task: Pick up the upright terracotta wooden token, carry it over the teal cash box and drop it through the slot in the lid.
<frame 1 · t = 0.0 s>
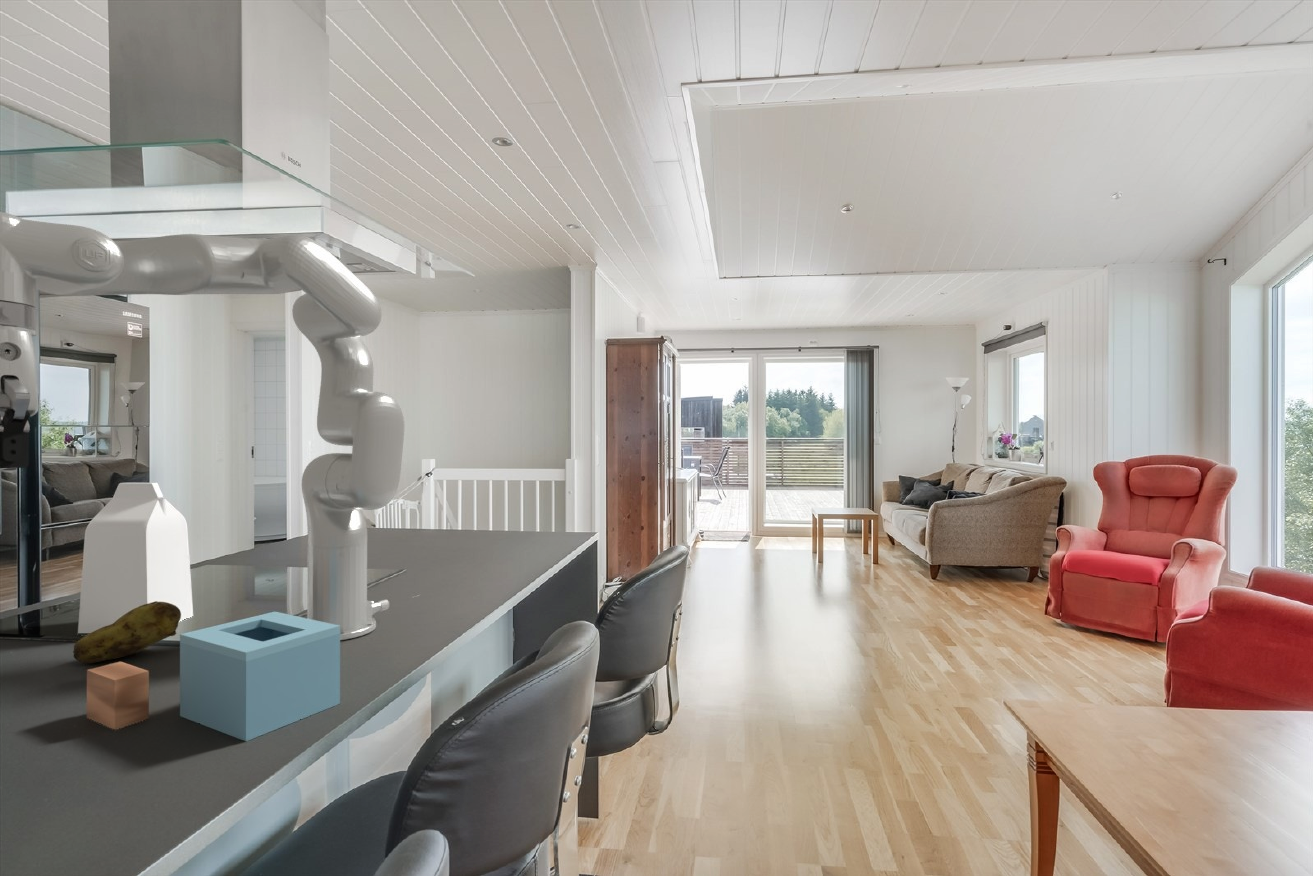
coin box: (261, 709, 84), on the worktop
potato: (130, 657, 103), on the worktop
milk: (138, 626, 120), on the worktop
token: (117, 719, 81), on the worktop
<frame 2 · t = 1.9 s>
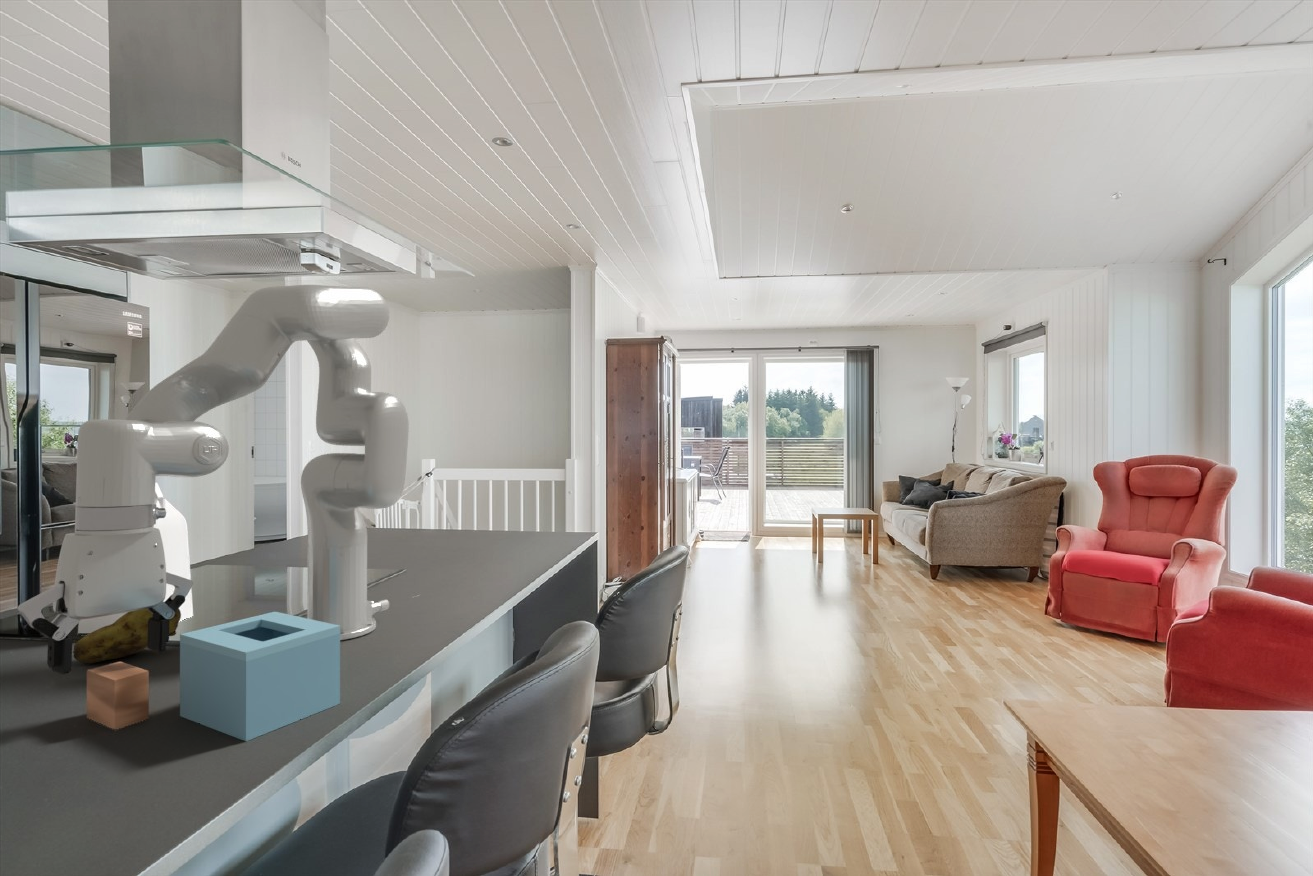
hand: (111, 660, 80), 7 cm above the worktop, tool pointing down, fingers open, 9 cm apart
nothing on the worktop moved.
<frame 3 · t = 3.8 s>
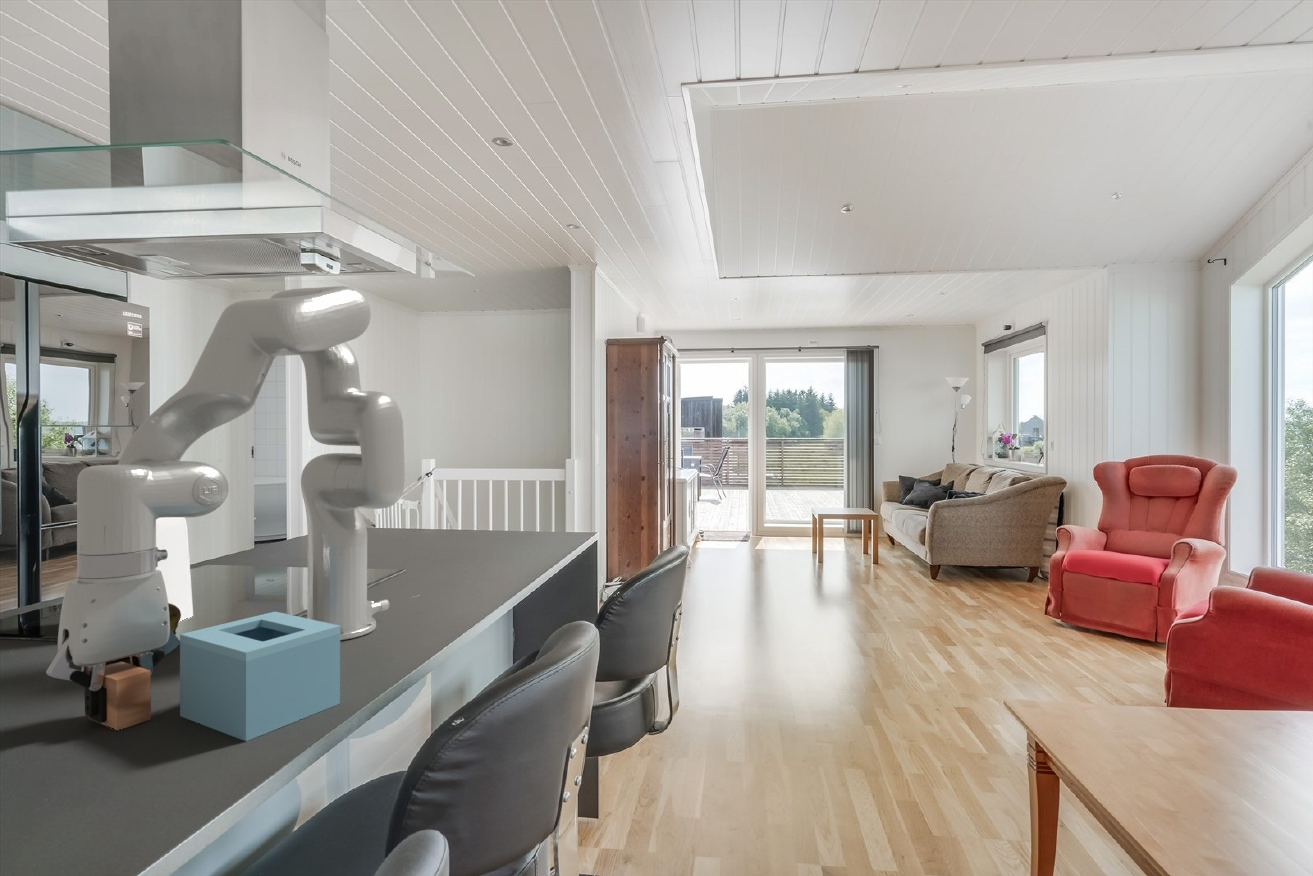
hand: (117, 712, 81), 1 cm above the worktop, tool pointing down, fingers closed on token, 3 cm apart
token: (119, 719, 81), on the worktop, touching gripper
everything else where it was.
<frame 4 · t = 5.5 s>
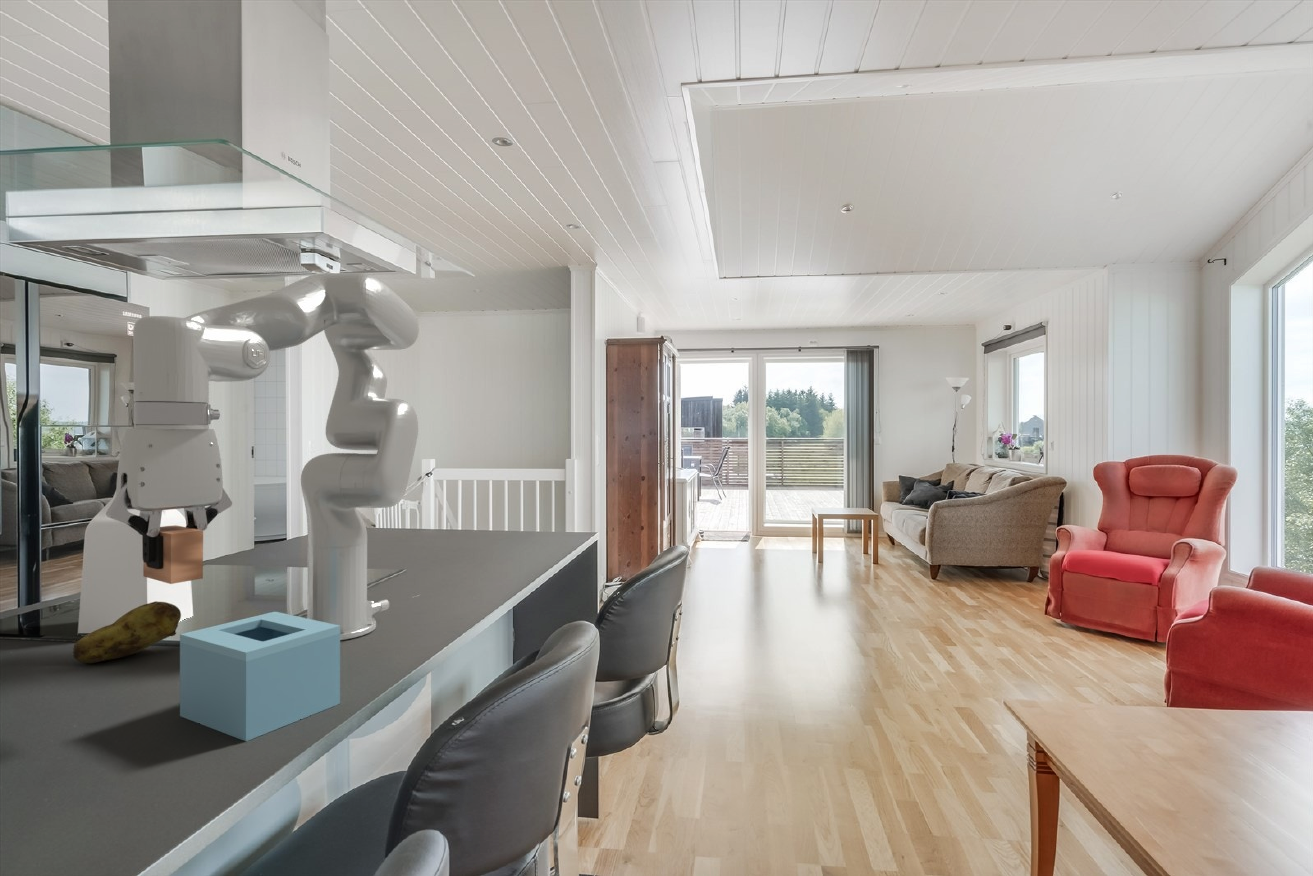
hand: (173, 563, 82), 19 cm above the worktop, tool pointing down, fingers closed on token, 3 cm apart
token: (173, 577, 82), point 17 cm above the worktop, touching gripper
everything else where it was.
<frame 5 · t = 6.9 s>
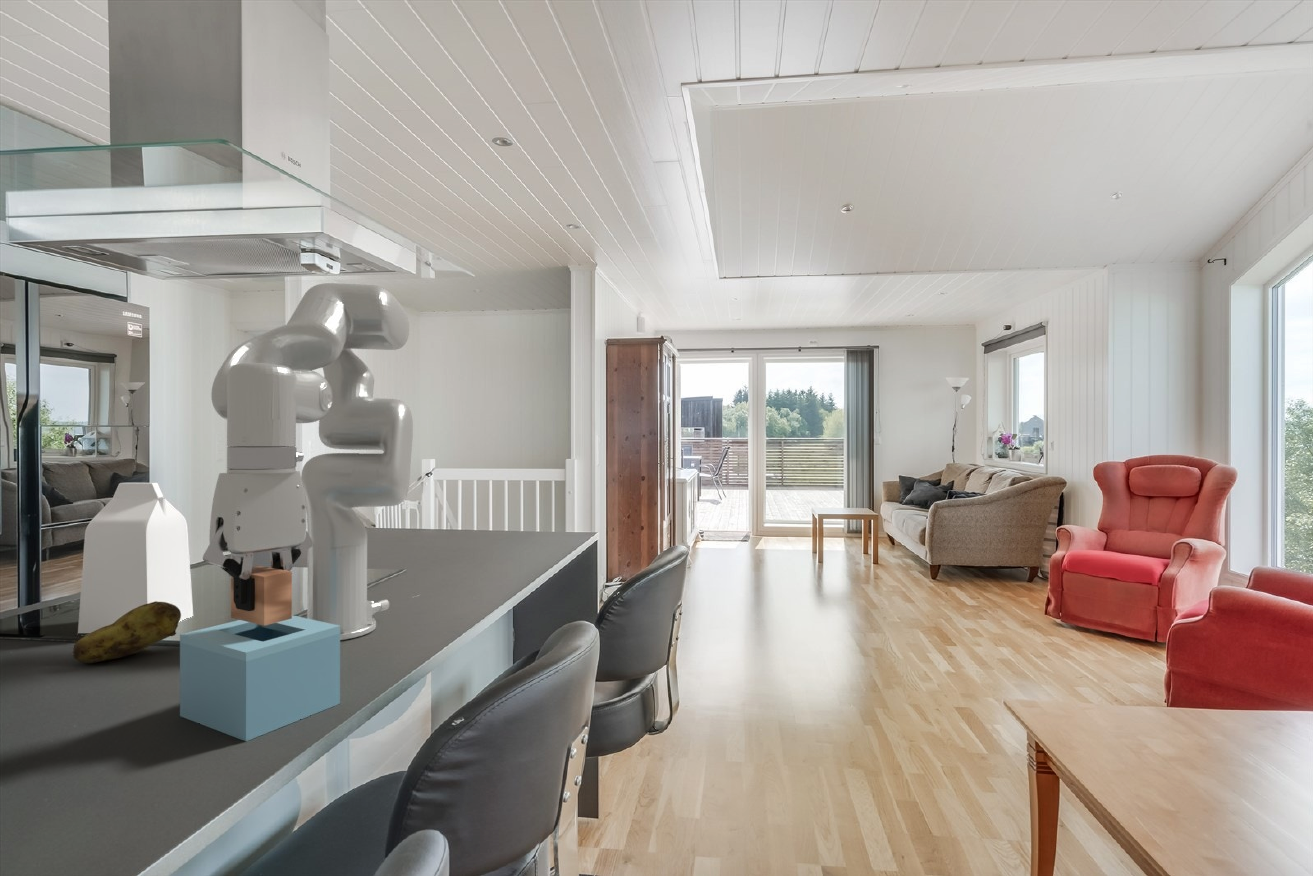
hand: (261, 604, 83), 14 cm above the worktop, tool pointing down, fingers closed on token, 3 cm apart
token: (261, 618, 83), point 12 cm above the worktop, touching gripper
everything else where it was.
when the fingers open (12 cm above the worktop, at t = 7.8 s): token drops 10 cm, resting on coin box.
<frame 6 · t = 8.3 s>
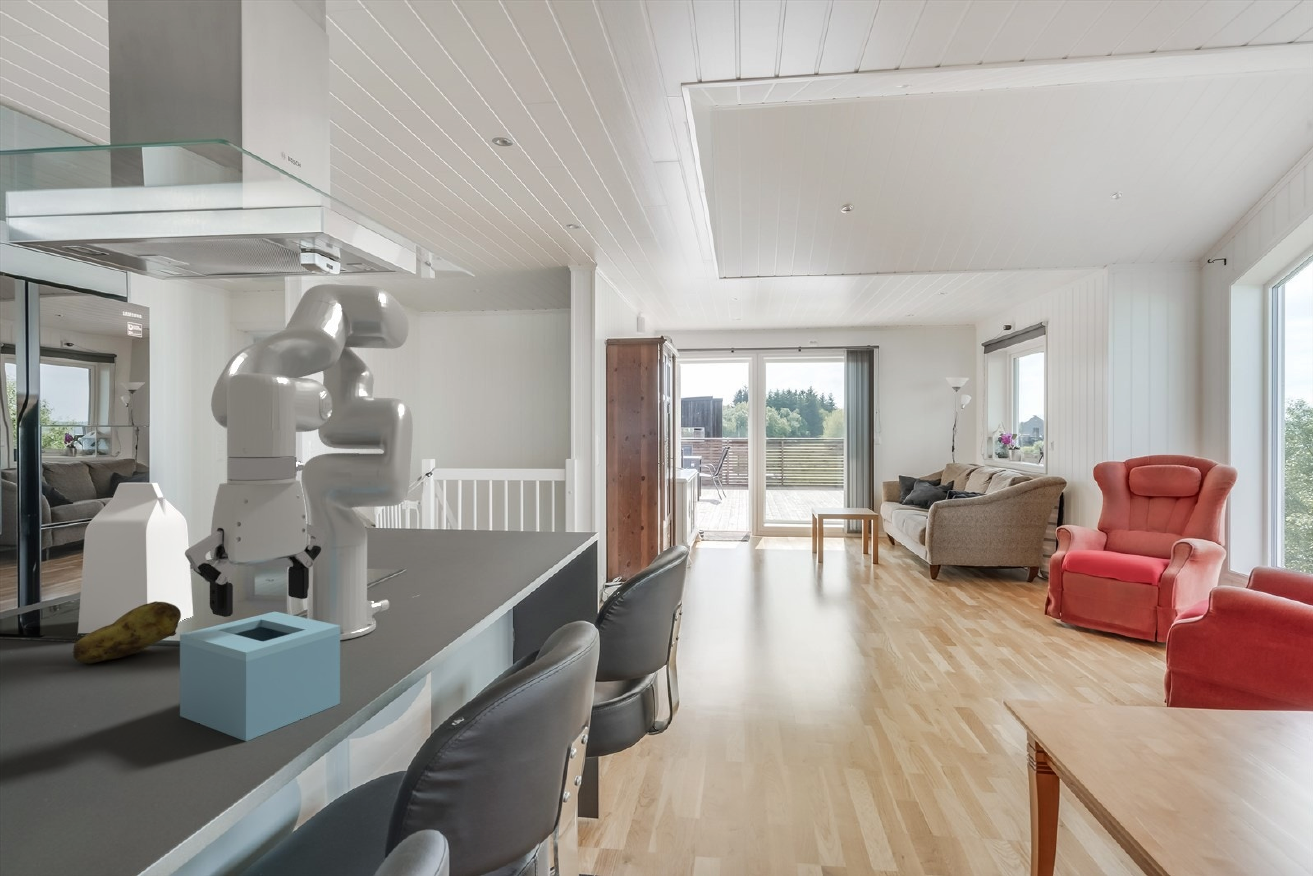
hand: (262, 605, 84), 13 cm above the worktop, tool pointing down, fingers open, 9 cm apart
token: (255, 703, 84), point 1 cm above the worktop, touching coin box
everything else where it was.
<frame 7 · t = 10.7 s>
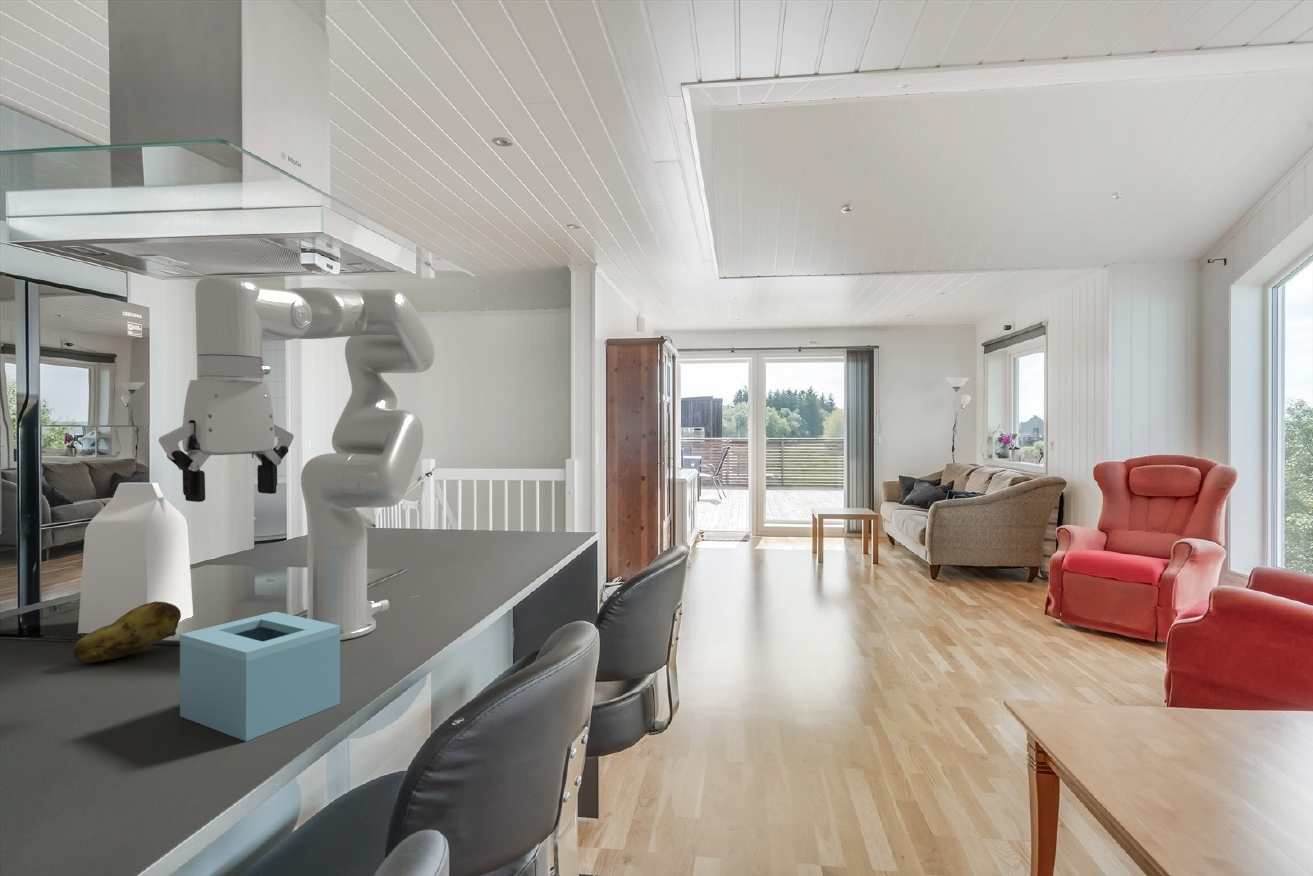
hand: (232, 496, 90), 27 cm above the worktop, tool pointing down, fingers open, 9 cm apart
nothing on the worktop moved.
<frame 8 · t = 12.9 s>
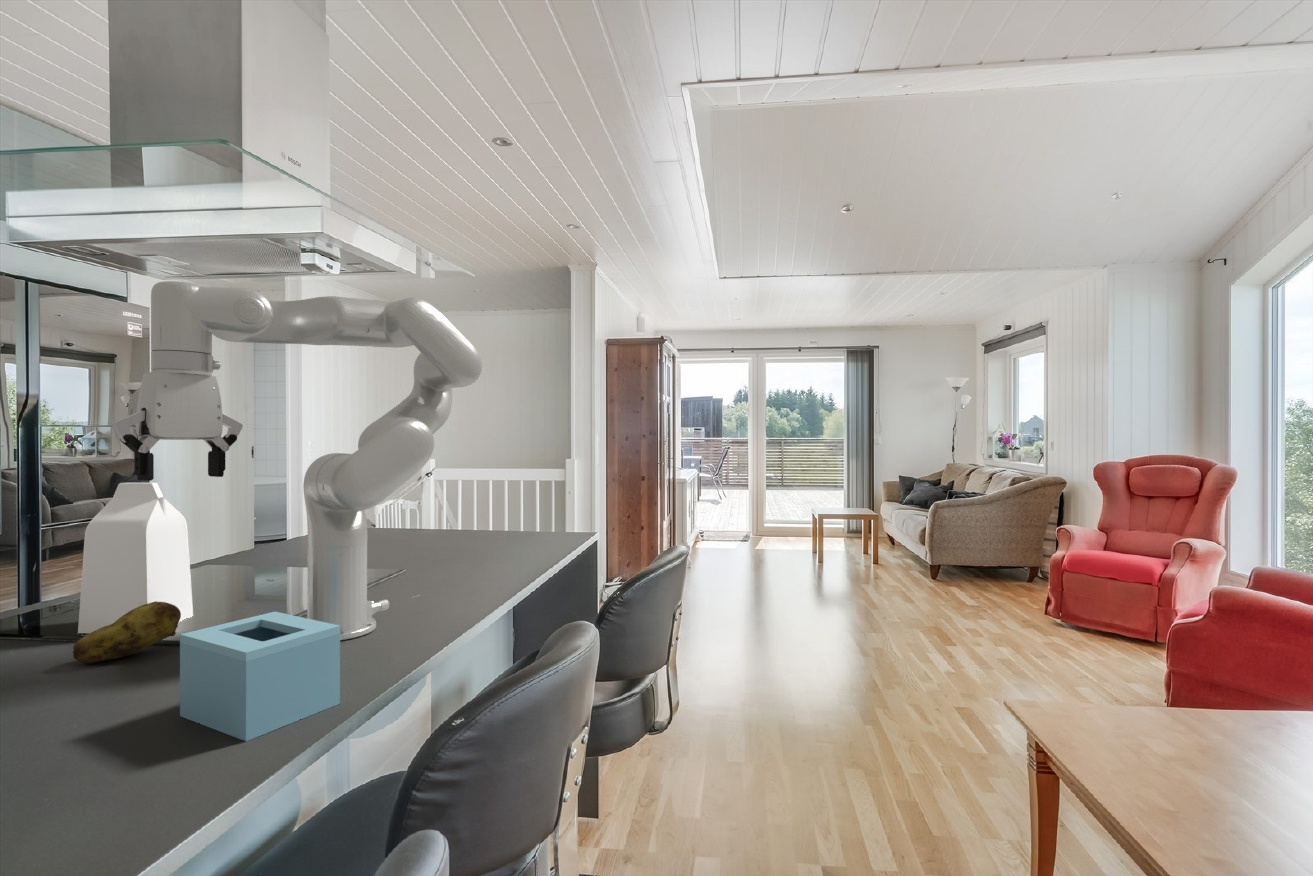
hand: (182, 478, 100), 28 cm above the worktop, tool pointing down, fingers open, 9 cm apart
nothing on the worktop moved.
at the end: token inside the target area on the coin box (0.9 cm from its centre), point 0.8 cm above the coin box's base; the gripper is holding nothing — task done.
